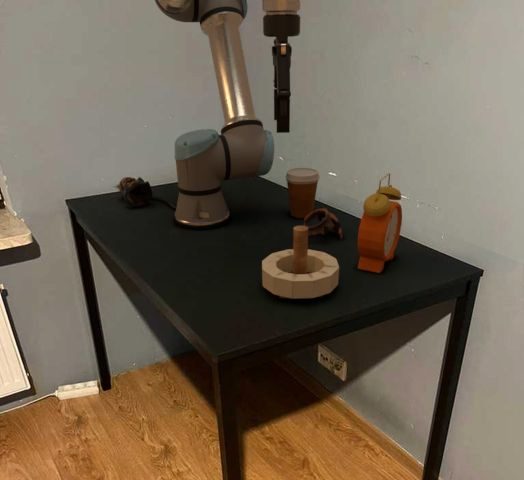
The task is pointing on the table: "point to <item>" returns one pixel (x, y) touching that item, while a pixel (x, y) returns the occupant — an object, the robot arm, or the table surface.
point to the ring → (300, 275)
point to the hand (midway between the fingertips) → (281, 126)
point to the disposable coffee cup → (302, 190)
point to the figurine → (135, 191)
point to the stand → (300, 251)
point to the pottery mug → (322, 222)
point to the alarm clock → (379, 228)
